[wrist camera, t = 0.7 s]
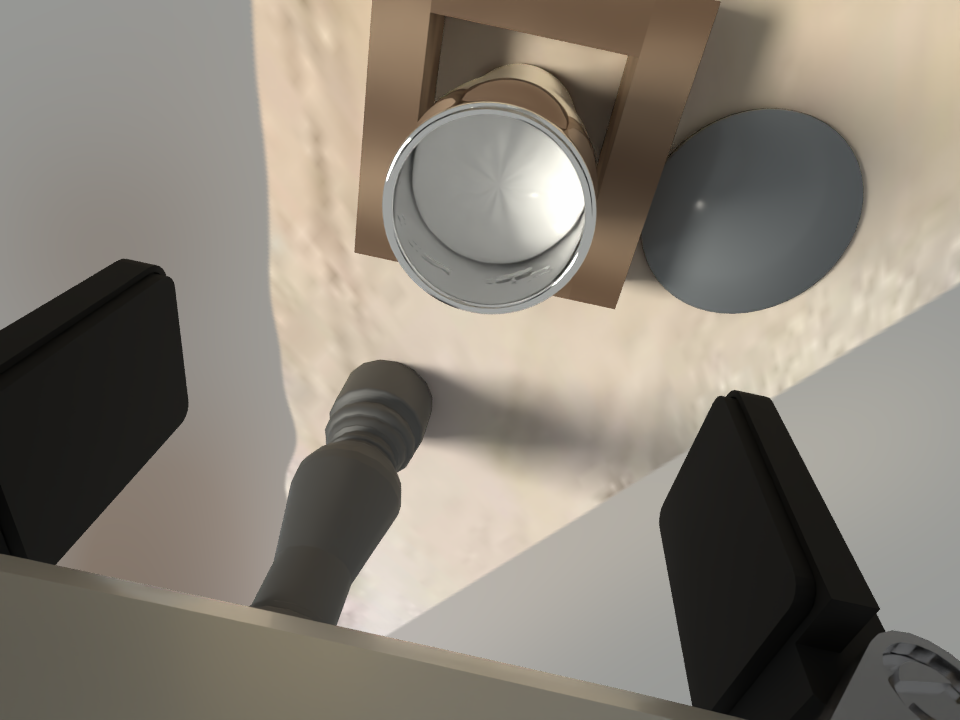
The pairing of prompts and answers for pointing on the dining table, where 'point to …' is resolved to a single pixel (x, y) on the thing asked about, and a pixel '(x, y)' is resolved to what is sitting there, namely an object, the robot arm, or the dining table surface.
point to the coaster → (752, 211)
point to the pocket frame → (631, 131)
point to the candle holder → (346, 492)
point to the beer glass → (494, 193)
